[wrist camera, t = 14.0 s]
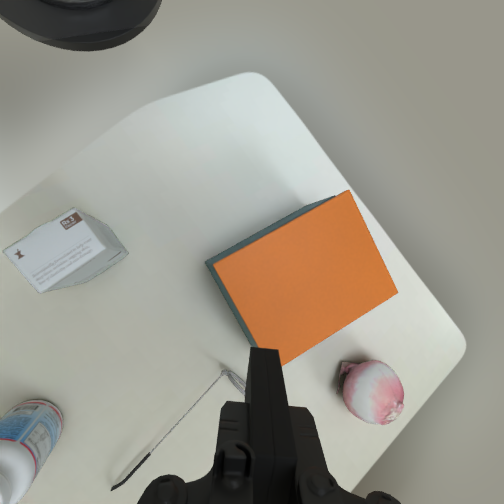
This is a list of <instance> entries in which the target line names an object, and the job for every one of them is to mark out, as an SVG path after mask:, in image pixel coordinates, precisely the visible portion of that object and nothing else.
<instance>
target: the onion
mask: <svg viewBox="0 0 504 504" xmlns="http://www.w3.org/2000/svg"><path fill="white" fill-rule="evenodd" d="M345 372H346V373H347V376H346V378H345V380H344V383H343V391H342V393H343V399H344V402H345V405H346V407H347V408H348V409H349V411H350V412H351V413H352V414H353V415H355V416H356V417H357V418H359V419H361V420H363V421H365V422H368V423H372V424H381V425H385V424H389V423H390V422H392V421H394V420H395V419H397V418H398V416H399V415H400V413H401V411H402V410H403V408H404V405H403V399H404V391H403V387H402V384H401V382H400V380H399V378H398V376H397V374H396V373H395V371H394V370H393V369H392V368H391V367H390V366H388V365H387V364H385V363H383V362H381V361H377V360H371V361H367V362H364V363H351V362H342V366H341V371H340V375H341V374H342V375H343V374H344V373H345ZM340 375H339V381H338V390H337V393H338V391H339V387H341V386H340ZM337 393H336V394H337Z"/></svg>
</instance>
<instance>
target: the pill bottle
mask: <svg viewBox="0 0 504 504" xmlns="http://www.w3.org/2000/svg"><path fill="white" fill-rule="evenodd" d="M62 428H63V418H62V415H61V413H60V411H59V410H58V408H57V407H55V406H54V405H53V404H51V403H49V402H47V401H43V400H30V401H26V402H23V403H20V404H18V405H17V406H15V407H13V408H12V409H11V410H10V411H8V412H7V413H6V414H5V415H4V416H3V417H2V418H1V419H0V504H17V503H18V502H19V501H20V500H21V499H22V497H23V496H24V495H25V493H26V492H27V491H28V489H29V488H30V486H31V484H32V483H33V481H34V479H35V478H36V476H37V474H38V473H39V471H40V469H41V468H42V466H43V464H44V463H45V461H46V459H47V458H48V456H49V454H50V453H51V451H52V449H53V447H54V446H55V444H56V442H57V441H58V439H59V437H60V435H61V432H62Z"/></svg>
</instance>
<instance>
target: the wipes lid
mask: <svg viewBox="0 0 504 504" xmlns="http://www.w3.org/2000/svg"><path fill="white" fill-rule="evenodd" d="M213 266H214V268H215V270H216V272H217V274H218V275H219V277H220V279H221V281H222V283H223V284H224V286H225V288H226V290H227V292H228V293H229V295H230V297H231V299H232V301H233V302H234V304H235V306H236V308H237V310H238V311H239V313H240V315H241V317H242V319H243V320H244V322H245V324H246V326H247V328H248V329H249V331H250V333H251V335H252V337H253V338H254V340H255V342H256V344H257V346H258V347H259V348H268V349H278V350H279V355H280V361H281V366H283V365H285V364H286V363H288V362H290V361H291V360H293V359H294V358H296V357H297V356H299V355H301V354H302V353H304V352H305V351H307V350H309V349H310V348H312V347H313V346H315V345H316V344H318V343H320V342H321V341H323V340H324V339H326V338H328V337H329V336H331V335H332V334H334V333H335V332H337V331H339V330H340V329H342V328H343V327H345V326H346V325H348V324H350V323H351V322H353V321H354V320H356V319H358V318H359V317H361V316H362V315H364V314H365V313H367V312H369V311H370V310H372V309H373V308H375V307H377V306H378V305H380V304H381V303H383V302H384V301H386V300H388V299H389V298H391V297H392V296H394V295H396V294H397V293H398V291H397V289H396V287H395V284H394V282H393V280H392V278H391V276H390V274H389V272H388V270H387V268H386V266H385V264H384V261H383V259H382V257H381V255H380V253H379V251H378V249H377V247H376V245H375V243H374V241H373V238H372V236H371V234H370V232H369V230H368V228H367V226H366V224H365V222H364V220H363V217H362V215H361V213H360V211H359V209H358V207H357V205H356V203H355V201H354V199H353V197H352V194H351V192H350V190H346V191H344V192H342V193H341V194H339V195H337V196H335V197H333V198H332V199H330V200H328V201H326V202H324V203H322V204H321V205H319V206H317V207H315V208H313V209H312V210H310V211H308V212H306V213H304V214H303V215H301V216H299V217H297V218H295V219H293V220H292V221H290V222H288V223H286V224H284V225H283V226H281V227H279V228H277V229H275V230H274V231H272V232H270V233H268V234H266V235H264V236H263V237H261V238H259V239H257V240H255V241H254V242H252V243H250V244H248V245H246V246H245V247H243V248H241V249H239V250H237V251H235V252H234V253H232V254H230V255H228V256H226V257H225V258H223V259H221V260H219V261H217V262H216V263H214V264H213Z"/></svg>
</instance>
